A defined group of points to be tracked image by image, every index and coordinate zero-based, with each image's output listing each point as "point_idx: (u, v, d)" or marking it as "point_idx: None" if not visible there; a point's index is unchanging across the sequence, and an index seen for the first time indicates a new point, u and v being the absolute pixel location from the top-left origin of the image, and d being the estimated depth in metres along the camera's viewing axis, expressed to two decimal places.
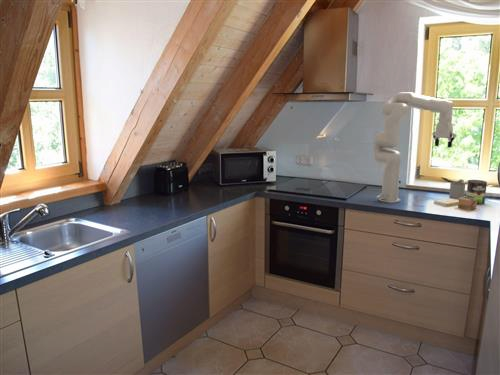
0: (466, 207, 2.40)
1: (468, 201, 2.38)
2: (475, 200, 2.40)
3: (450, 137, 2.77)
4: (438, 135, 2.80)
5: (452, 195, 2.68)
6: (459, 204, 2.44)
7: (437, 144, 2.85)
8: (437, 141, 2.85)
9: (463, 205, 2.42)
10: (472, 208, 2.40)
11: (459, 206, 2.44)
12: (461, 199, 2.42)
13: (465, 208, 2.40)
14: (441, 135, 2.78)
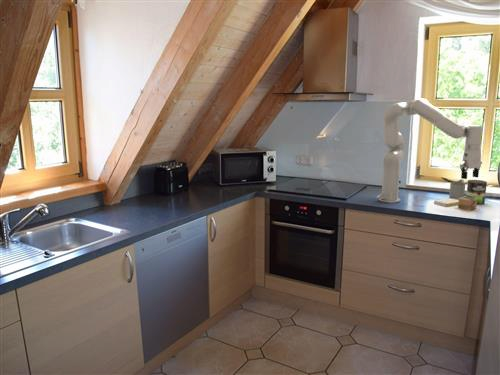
0: (466, 207, 2.40)
1: (468, 201, 2.38)
2: (475, 200, 2.40)
3: None
4: (473, 165, 2.35)
5: (452, 195, 2.68)
6: (459, 204, 2.44)
7: None
8: None
9: (463, 205, 2.42)
10: (472, 208, 2.40)
11: (459, 206, 2.44)
12: (461, 199, 2.42)
13: (465, 208, 2.40)
14: (475, 165, 2.36)
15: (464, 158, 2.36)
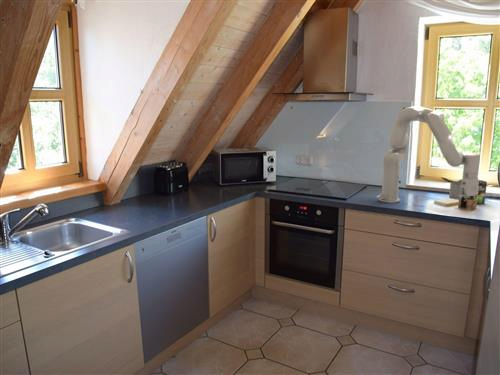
0: (466, 207, 2.40)
1: (468, 201, 2.38)
2: (475, 200, 2.40)
3: None
4: (470, 194, 2.38)
5: (452, 195, 2.68)
6: (459, 204, 2.44)
7: None
8: None
9: None
10: (472, 208, 2.40)
11: (459, 206, 2.44)
12: None
13: (465, 208, 2.40)
14: (473, 193, 2.39)
15: (462, 186, 2.39)
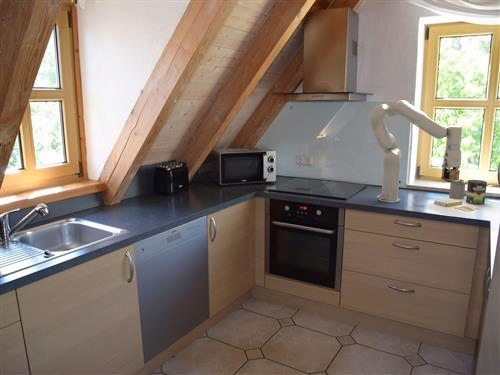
0: (449, 178, 2.48)
1: (451, 172, 2.46)
2: (458, 171, 2.47)
3: None
4: (453, 165, 2.45)
5: (452, 195, 2.68)
6: (442, 175, 2.51)
7: None
8: None
9: None
10: (455, 179, 2.47)
11: (442, 177, 2.51)
12: None
13: (448, 179, 2.48)
14: (456, 164, 2.46)
15: (445, 157, 2.46)
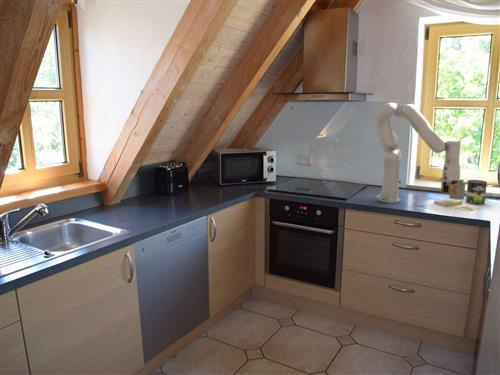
0: (448, 191, 2.49)
1: (450, 185, 2.48)
2: (457, 184, 2.49)
3: None
4: (452, 178, 2.47)
5: (452, 195, 2.68)
6: (442, 189, 2.53)
7: None
8: None
9: None
10: (454, 192, 2.49)
11: (442, 191, 2.53)
12: None
13: (447, 192, 2.50)
14: (455, 178, 2.48)
15: (444, 171, 2.48)
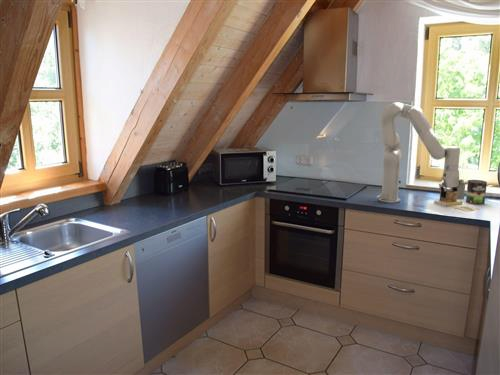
0: (446, 199, 2.51)
1: (449, 193, 2.49)
2: (455, 193, 2.50)
3: None
4: (451, 185, 2.48)
5: None
6: None
7: None
8: None
9: (444, 198, 2.52)
10: (452, 200, 2.50)
11: (440, 198, 2.54)
12: None
13: (446, 200, 2.51)
14: (454, 184, 2.49)
15: (443, 178, 2.49)
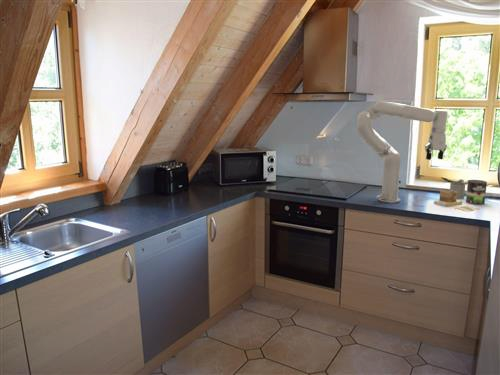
0: (446, 199, 2.51)
1: (449, 193, 2.49)
2: (455, 193, 2.50)
3: None
4: (437, 147, 2.53)
5: None
6: (440, 196, 2.54)
7: None
8: None
9: (444, 198, 2.52)
10: (452, 200, 2.50)
11: (440, 198, 2.54)
12: (442, 192, 2.53)
13: (446, 200, 2.51)
14: (440, 147, 2.54)
15: (429, 140, 2.54)
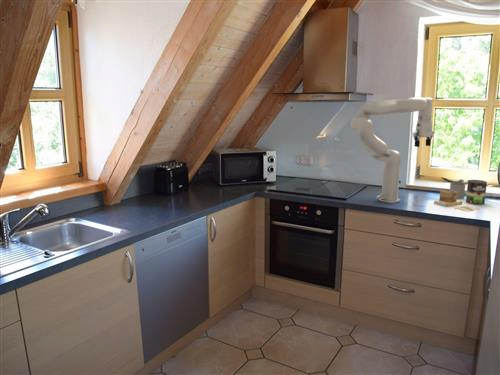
0: (446, 199, 2.51)
1: (449, 193, 2.49)
2: (455, 193, 2.50)
3: None
4: (424, 134, 2.61)
5: None
6: (440, 196, 2.54)
7: None
8: None
9: (444, 198, 2.52)
10: (452, 200, 2.50)
11: (440, 198, 2.54)
12: (442, 192, 2.53)
13: (446, 200, 2.51)
14: (427, 134, 2.62)
15: (417, 128, 2.62)
